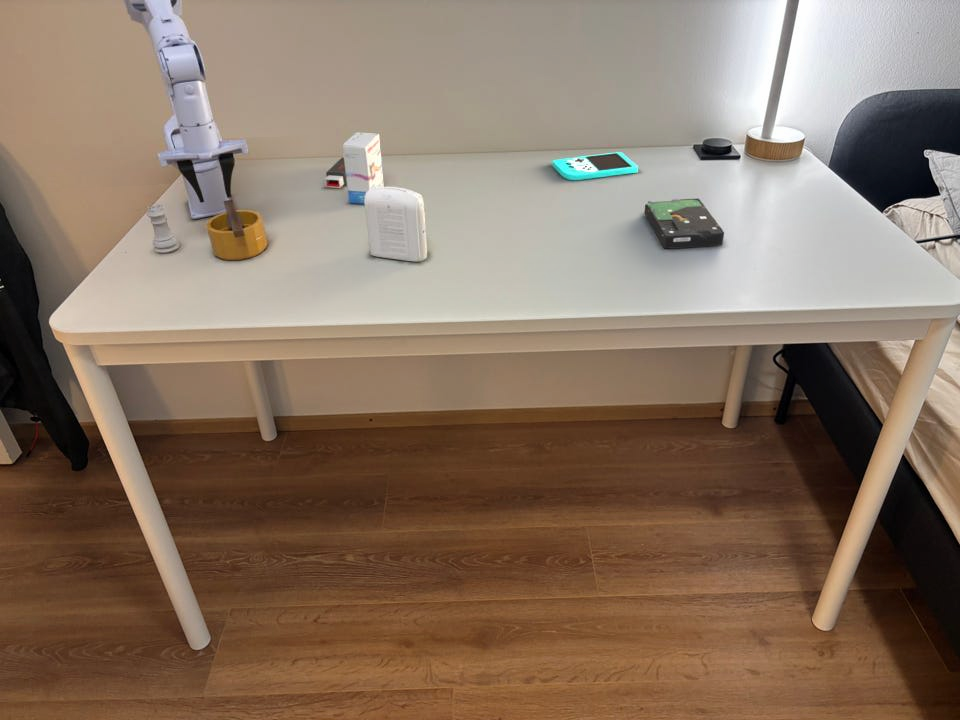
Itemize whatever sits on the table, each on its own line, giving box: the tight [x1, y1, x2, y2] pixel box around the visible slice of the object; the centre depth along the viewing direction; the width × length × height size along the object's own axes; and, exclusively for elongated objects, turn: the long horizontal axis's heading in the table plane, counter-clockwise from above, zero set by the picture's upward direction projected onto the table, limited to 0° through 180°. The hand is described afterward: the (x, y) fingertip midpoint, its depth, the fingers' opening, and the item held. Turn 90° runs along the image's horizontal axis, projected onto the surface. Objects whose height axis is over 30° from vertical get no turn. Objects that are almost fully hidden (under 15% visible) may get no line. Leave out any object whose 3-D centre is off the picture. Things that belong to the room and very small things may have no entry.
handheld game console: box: [551, 151, 639, 181], centre depth 158 cm, size 10×16×1 cm, turn 104°
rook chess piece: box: [146, 204, 181, 255], centre depth 131 cm, size 4×4×8 cm
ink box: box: [342, 131, 385, 205], centre depth 147 cm, size 9×5×12 cm, turn 168°
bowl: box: [205, 209, 269, 261], centre depth 131 cm, size 9×9×6 cm
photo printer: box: [363, 186, 428, 263], centre depth 125 cm, size 10×4×12 cm, turn 72°
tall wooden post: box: [223, 199, 244, 238], centre depth 130 cm, size 14×2×5 cm, turn 22°
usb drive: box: [324, 157, 347, 189], centre depth 158 cm, size 5×12×3 cm, turn 167°
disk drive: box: [644, 198, 725, 249], centre depth 132 cm, size 10×3×15 cm
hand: (215, 198), depth 132 cm, fingers open, 4 cm apart
